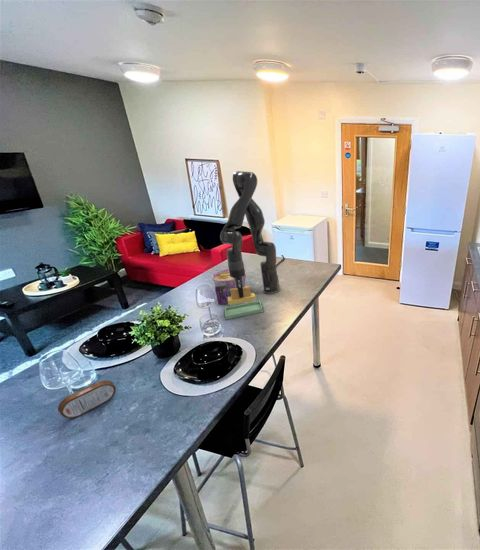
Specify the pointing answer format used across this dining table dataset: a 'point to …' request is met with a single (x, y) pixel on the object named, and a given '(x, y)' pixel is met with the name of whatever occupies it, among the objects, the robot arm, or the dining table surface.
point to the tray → (243, 309)
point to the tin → (86, 399)
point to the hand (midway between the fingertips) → (241, 295)
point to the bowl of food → (226, 278)
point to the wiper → (236, 299)
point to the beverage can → (222, 292)
